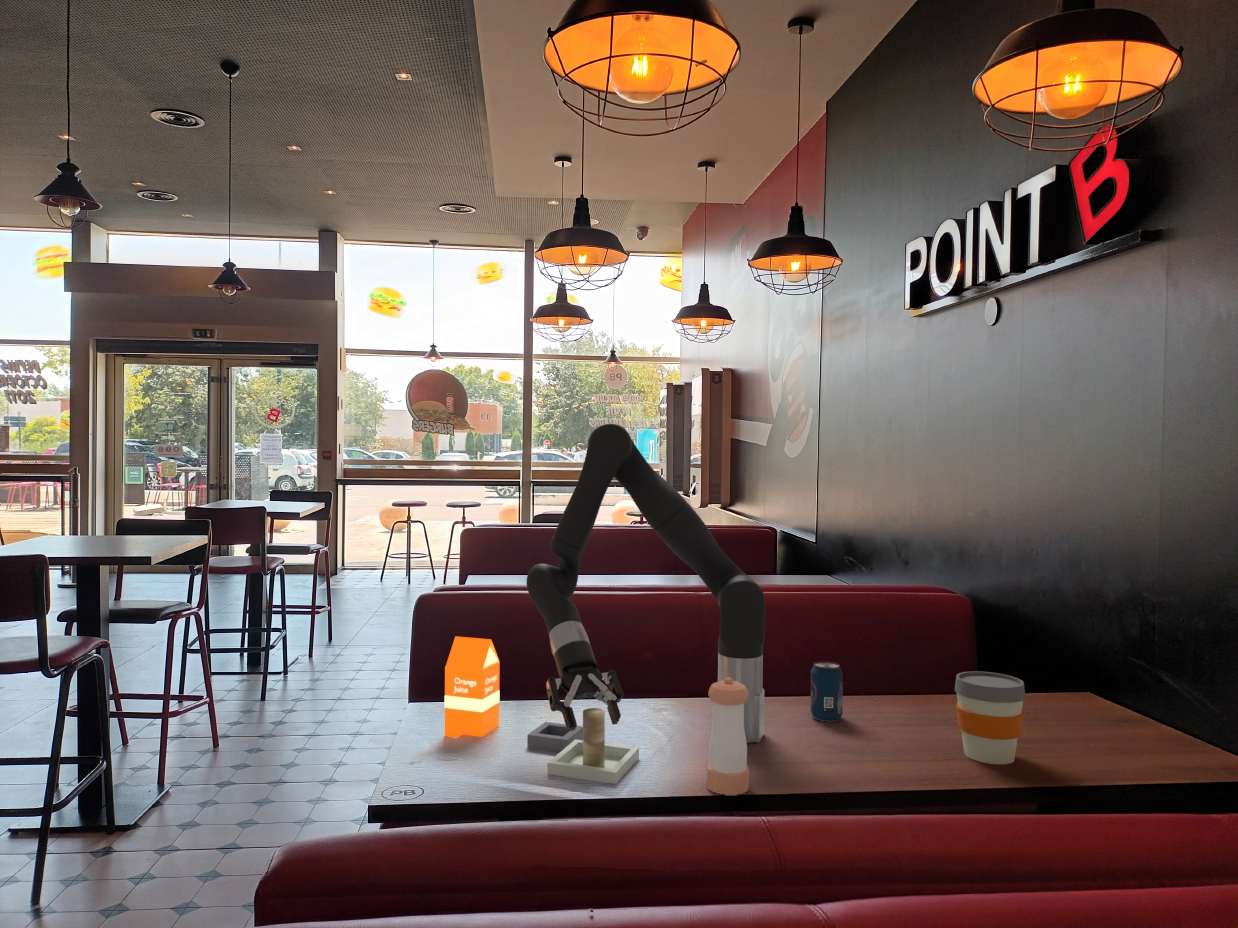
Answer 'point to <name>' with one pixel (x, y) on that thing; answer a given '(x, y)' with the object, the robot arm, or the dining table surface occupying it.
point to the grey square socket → (553, 737)
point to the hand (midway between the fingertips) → (595, 725)
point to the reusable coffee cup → (989, 715)
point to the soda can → (826, 691)
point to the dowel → (594, 737)
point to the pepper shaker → (728, 739)
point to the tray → (572, 766)
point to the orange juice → (471, 688)
